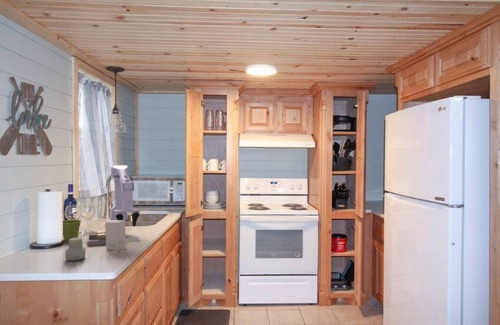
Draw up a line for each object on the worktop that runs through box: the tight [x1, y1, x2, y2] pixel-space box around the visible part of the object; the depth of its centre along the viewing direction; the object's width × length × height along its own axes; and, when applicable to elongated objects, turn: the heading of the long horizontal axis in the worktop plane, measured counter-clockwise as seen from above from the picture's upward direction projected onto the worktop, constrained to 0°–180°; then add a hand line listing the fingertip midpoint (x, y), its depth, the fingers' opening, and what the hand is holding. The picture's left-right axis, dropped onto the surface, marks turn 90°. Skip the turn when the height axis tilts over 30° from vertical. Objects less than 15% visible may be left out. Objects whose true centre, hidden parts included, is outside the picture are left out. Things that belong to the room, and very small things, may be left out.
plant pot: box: [62, 219, 82, 242], centre depth 217 cm, size 12×12×11 cm
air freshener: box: [64, 237, 86, 262], centre depth 178 cm, size 11×8×10 cm
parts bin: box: [87, 233, 106, 247], centre depth 212 cm, size 17×14×3 cm
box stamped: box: [97, 233, 106, 240], centre depth 209 cm, size 4×4×5 cm
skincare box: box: [104, 220, 127, 252], centre depth 197 cm, size 8×7×16 cm
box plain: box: [95, 230, 106, 240], centre depth 216 cm, size 4×4×5 cm
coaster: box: [126, 236, 141, 243], centre depth 219 cm, size 11×11×1 cm
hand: (127, 226), depth 208 cm, fingers open, 7 cm apart
